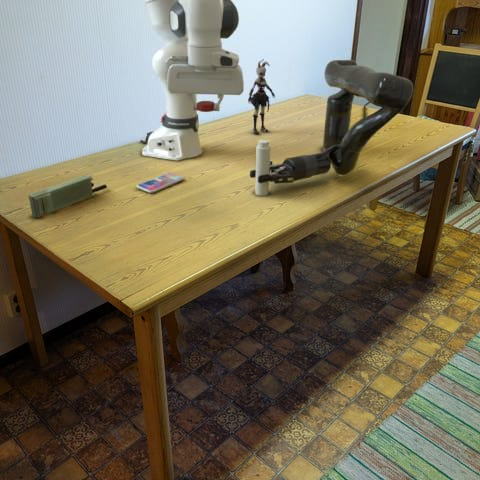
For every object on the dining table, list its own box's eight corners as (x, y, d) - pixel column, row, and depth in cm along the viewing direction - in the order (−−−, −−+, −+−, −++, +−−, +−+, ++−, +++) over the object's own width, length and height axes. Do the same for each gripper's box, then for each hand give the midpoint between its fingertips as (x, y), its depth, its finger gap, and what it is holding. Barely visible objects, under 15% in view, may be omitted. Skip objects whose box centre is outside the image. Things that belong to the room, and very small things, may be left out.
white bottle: (267, 196, 157) (270, 143, 149) (254, 195, 158) (256, 143, 149) (268, 190, 161) (270, 139, 153) (255, 190, 161) (257, 138, 153)
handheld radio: (30, 215, 144) (102, 188, 161) (37, 219, 142) (109, 191, 159) (26, 193, 140) (100, 168, 157) (33, 197, 138) (107, 171, 155)
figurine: (251, 137, 208) (253, 60, 193) (241, 133, 211) (242, 58, 197) (276, 130, 216) (279, 56, 202) (266, 126, 220) (268, 54, 205)
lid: (196, 108, 139) (196, 101, 138) (213, 107, 139) (212, 100, 139) (198, 112, 135) (198, 105, 134) (216, 111, 136) (215, 104, 135)
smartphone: (184, 177, 167) (150, 191, 157) (184, 180, 167) (151, 194, 157) (168, 171, 171) (134, 185, 161) (168, 174, 171) (135, 188, 161)
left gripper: (162, 58, 128) (165, 112, 135) (242, 59, 127) (242, 114, 134) (167, 54, 134) (170, 106, 141) (244, 55, 133) (243, 108, 139)
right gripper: (288, 149, 166) (243, 158, 159) (314, 163, 155) (267, 173, 148) (287, 171, 170) (242, 180, 162) (312, 186, 159) (266, 196, 151)
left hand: (206, 110), depth 137 cm, fingers closed on lid, 4 cm apart
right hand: (254, 177), depth 155 cm, fingers closed on white bottle, 4 cm apart
